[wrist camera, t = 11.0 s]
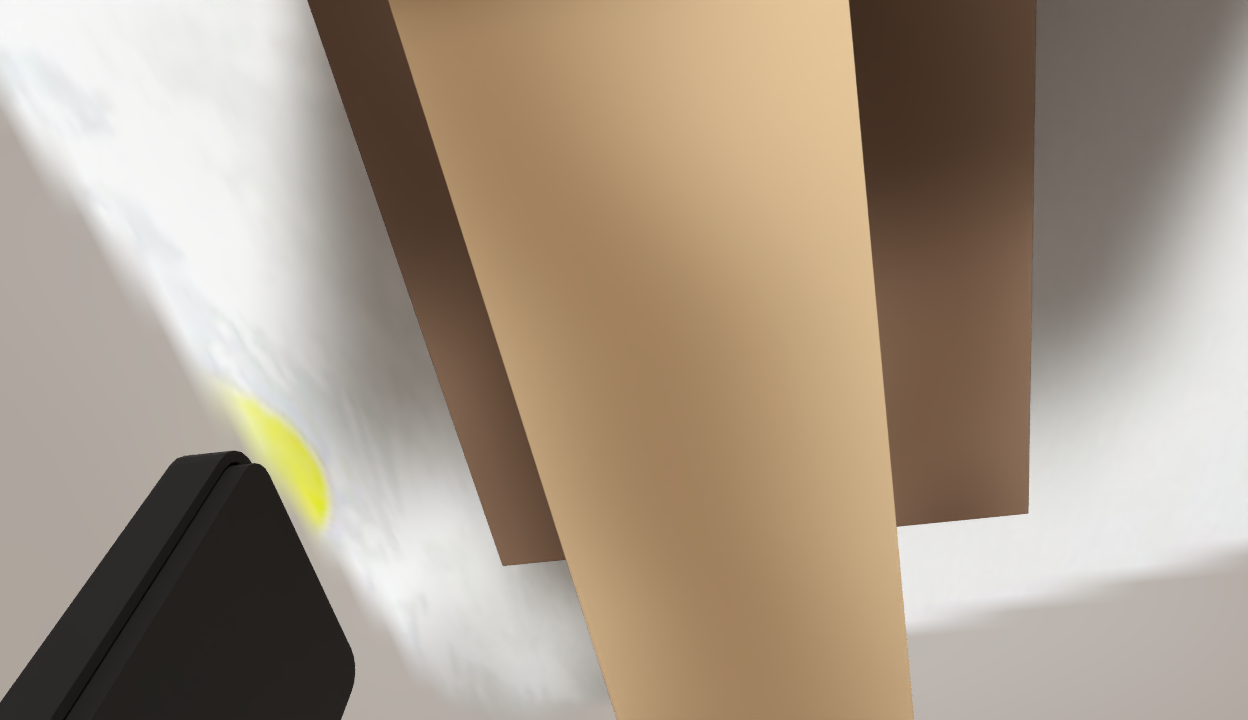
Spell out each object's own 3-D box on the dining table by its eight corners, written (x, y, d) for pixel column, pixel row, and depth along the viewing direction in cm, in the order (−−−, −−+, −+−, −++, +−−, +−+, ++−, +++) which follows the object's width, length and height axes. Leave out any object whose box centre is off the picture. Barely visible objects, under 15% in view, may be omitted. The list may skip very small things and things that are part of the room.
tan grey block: (758, -303, 16) (822, -275, 7) (837, 364, 22) (920, 791, 14) (525, -246, 16) (336, -161, 8) (667, 388, 22) (645, 810, 14)
